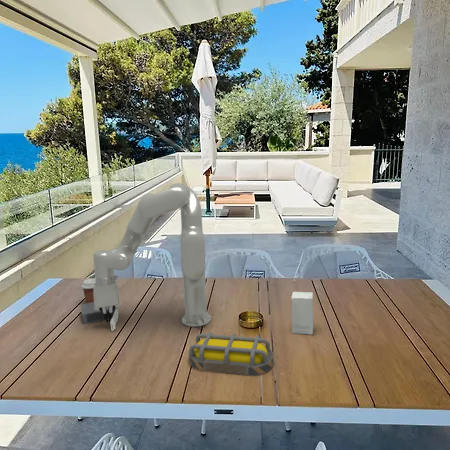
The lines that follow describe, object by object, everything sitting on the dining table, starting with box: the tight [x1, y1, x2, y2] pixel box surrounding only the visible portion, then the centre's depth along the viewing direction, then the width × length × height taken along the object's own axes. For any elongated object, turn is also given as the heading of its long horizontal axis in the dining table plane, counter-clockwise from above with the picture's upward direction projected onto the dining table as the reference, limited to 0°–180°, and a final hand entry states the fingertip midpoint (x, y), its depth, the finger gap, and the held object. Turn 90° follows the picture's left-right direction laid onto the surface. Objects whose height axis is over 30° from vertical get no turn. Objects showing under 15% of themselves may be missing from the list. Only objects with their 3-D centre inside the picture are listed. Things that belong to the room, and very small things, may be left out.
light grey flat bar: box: [109, 308, 120, 332], centre depth 172 cm, size 2×13×4 cm, turn 5°
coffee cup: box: [80, 277, 96, 304], centre depth 194 cm, size 9×9×12 cm
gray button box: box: [80, 302, 119, 325], centre depth 182 cm, size 14×15×5 cm
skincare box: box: [290, 291, 315, 335], centre depth 158 cm, size 8×7×16 cm
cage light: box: [188, 331, 274, 377], centre depth 140 cm, size 15×8×30 cm
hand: (108, 320), depth 169 cm, fingers closed
